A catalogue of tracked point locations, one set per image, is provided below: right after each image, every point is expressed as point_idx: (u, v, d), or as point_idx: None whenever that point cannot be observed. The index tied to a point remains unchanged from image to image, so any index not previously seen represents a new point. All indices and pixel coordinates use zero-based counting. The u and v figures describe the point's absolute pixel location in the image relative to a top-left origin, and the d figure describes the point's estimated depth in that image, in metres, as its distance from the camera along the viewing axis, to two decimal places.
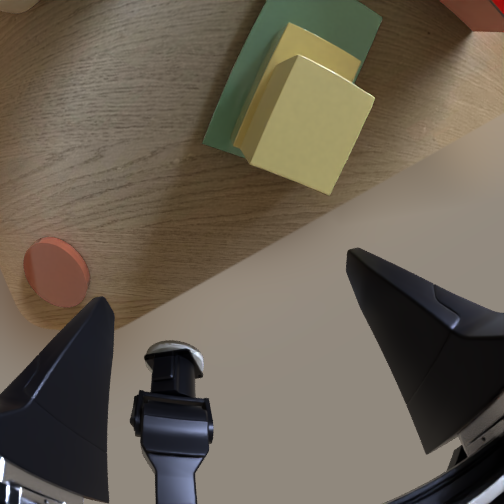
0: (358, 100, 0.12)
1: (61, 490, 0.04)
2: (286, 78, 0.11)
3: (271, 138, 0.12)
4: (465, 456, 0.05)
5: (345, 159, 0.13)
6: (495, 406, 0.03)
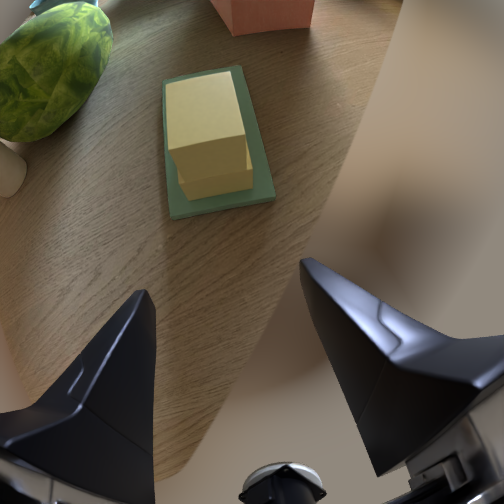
0: (219, 78, 0.16)
1: (109, 502, 0.04)
2: (166, 98, 0.16)
3: (174, 128, 0.15)
4: None
5: (237, 108, 0.16)
6: (438, 445, 0.03)
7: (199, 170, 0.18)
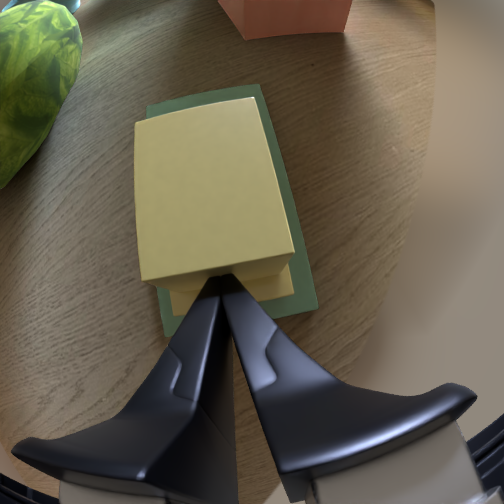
0: (234, 112, 0.09)
1: None
2: (134, 153, 0.09)
3: (150, 228, 0.08)
4: None
5: (275, 185, 0.08)
6: (308, 496, 0.03)
7: (202, 285, 0.11)
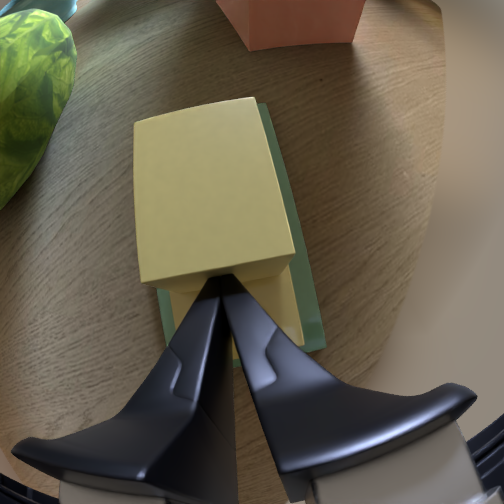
0: (234, 112, 0.09)
1: None
2: (133, 153, 0.09)
3: (149, 229, 0.08)
4: None
5: (275, 185, 0.08)
6: (308, 496, 0.03)
7: None
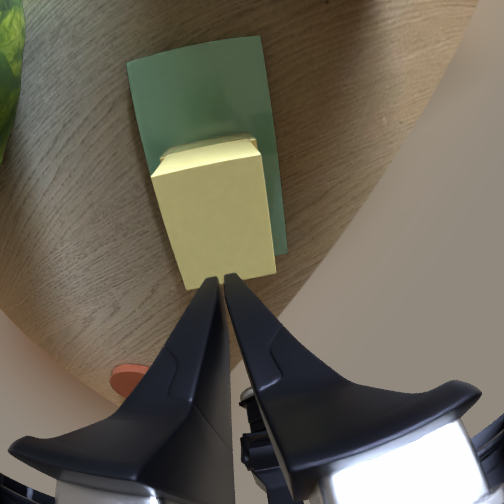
0: (242, 173, 0.11)
1: None
2: (159, 206, 0.12)
3: (187, 263, 0.13)
4: None
5: (269, 236, 0.13)
6: (313, 494, 0.03)
7: None
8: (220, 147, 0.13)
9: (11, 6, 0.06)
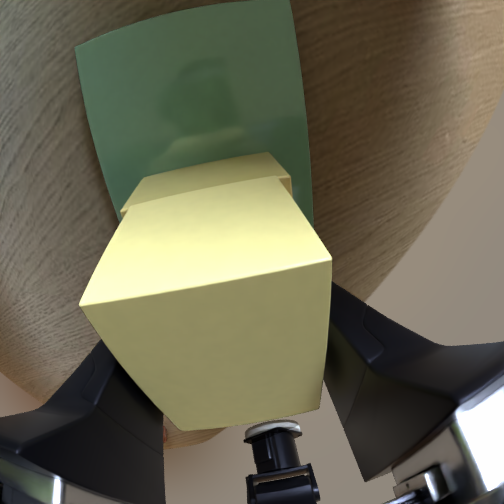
0: (285, 299, 0.05)
1: None
2: None
3: (178, 412, 0.07)
4: None
5: (320, 379, 0.07)
6: (421, 454, 0.03)
7: None
8: (227, 201, 0.07)
9: None
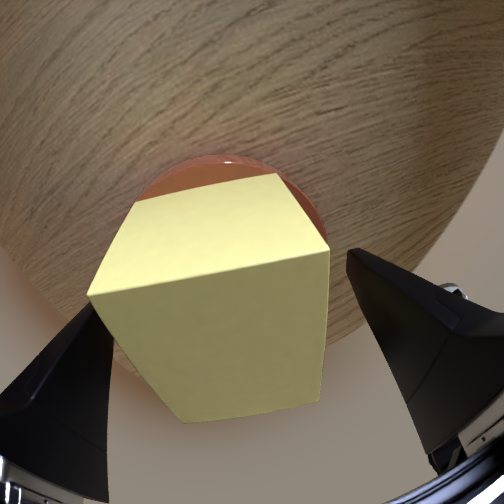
0: (285, 288, 0.05)
1: (61, 490, 0.04)
2: None
3: (180, 404, 0.07)
4: (465, 456, 0.05)
5: (319, 370, 0.07)
6: (495, 406, 0.03)
7: None
8: (229, 197, 0.07)
9: None
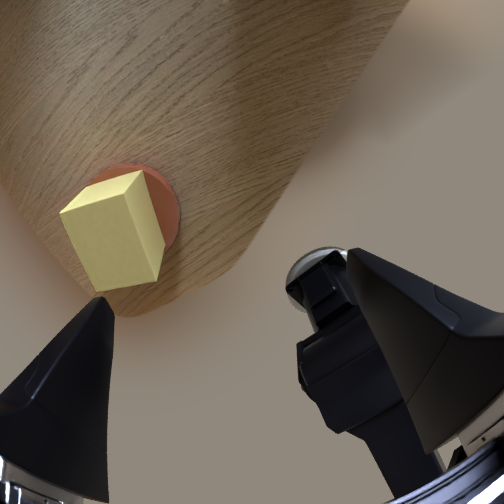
0: (114, 208, 0.14)
1: (61, 490, 0.04)
2: (68, 233, 0.14)
3: (92, 272, 0.16)
4: (465, 456, 0.05)
5: (143, 253, 0.16)
6: (495, 406, 0.03)
7: None
8: (115, 181, 0.16)
9: None
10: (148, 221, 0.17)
